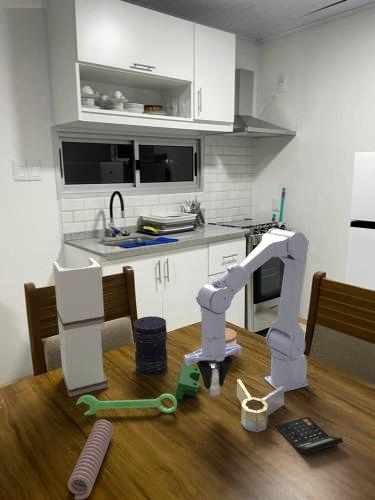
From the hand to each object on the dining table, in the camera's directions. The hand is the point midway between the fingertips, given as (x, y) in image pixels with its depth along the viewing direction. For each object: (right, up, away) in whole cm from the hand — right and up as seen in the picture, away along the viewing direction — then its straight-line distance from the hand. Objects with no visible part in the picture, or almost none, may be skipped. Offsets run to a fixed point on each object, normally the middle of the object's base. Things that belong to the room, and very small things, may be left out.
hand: (213, 385), depth 95 cm
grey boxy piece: (-36, -5, +16) cm, 40 cm away
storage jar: (-18, -3, +23) cm, 29 cm away
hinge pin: (0, -2, 0) cm, 2 cm away
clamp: (-6, -6, +11) cm, 14 cm away
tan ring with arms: (+12, -7, +2) cm, 14 cm away
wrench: (-22, -8, +1) cm, 23 cm away
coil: (-26, -11, -15) cm, 32 cm away
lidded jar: (+4, -1, +31) cm, 31 cm away
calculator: (+21, -10, -8) cm, 24 cm away
